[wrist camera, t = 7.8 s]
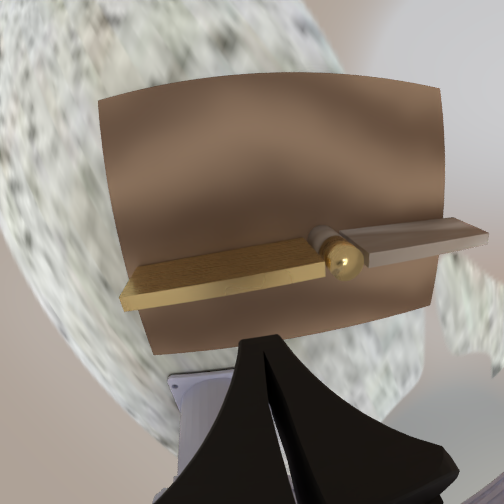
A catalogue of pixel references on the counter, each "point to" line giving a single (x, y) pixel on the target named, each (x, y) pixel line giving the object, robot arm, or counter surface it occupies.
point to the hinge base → (282, 195)
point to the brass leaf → (239, 272)
